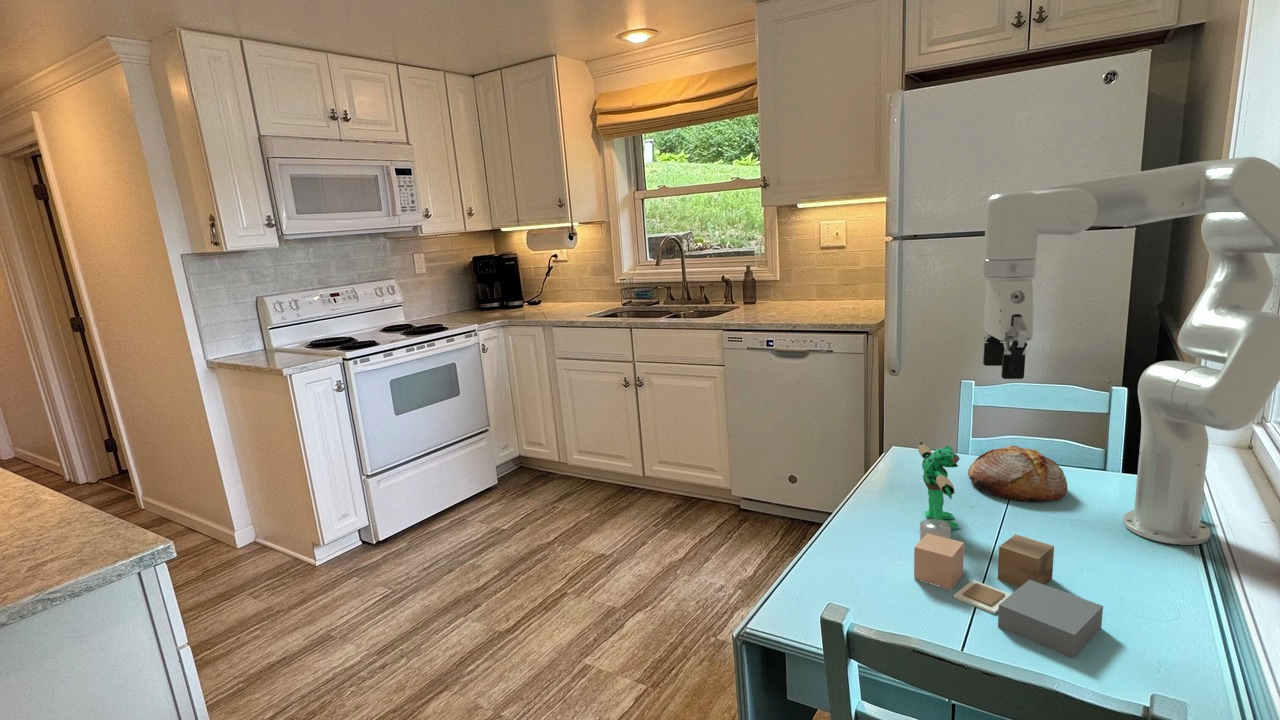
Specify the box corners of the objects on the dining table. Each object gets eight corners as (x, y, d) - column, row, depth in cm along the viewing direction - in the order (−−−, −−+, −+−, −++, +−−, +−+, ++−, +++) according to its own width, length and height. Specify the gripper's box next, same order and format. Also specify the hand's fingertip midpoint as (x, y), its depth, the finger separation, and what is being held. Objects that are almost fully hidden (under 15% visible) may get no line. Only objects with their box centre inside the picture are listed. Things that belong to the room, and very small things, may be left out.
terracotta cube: (926, 564, 117) (927, 533, 116) (962, 574, 113) (963, 542, 112) (914, 579, 113) (914, 547, 112) (951, 590, 109) (952, 557, 108)
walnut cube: (1014, 566, 115) (1015, 534, 114) (1052, 579, 110) (1054, 546, 109) (997, 579, 111) (999, 546, 110) (1036, 593, 107) (1038, 559, 105)
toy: (976, 554, 119) (979, 476, 116) (937, 553, 121) (939, 475, 118) (942, 495, 144) (943, 429, 141) (910, 494, 145) (911, 429, 142)
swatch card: (973, 582, 111) (973, 578, 111) (1014, 597, 106) (1014, 593, 106) (953, 597, 107) (953, 593, 107) (994, 614, 102) (994, 610, 102)
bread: (1055, 517, 133) (1057, 471, 131) (954, 492, 147) (954, 450, 145) (1079, 486, 144) (1081, 443, 141) (982, 466, 158) (983, 426, 155)
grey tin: (928, 546, 123) (929, 516, 122) (955, 555, 119) (956, 524, 118) (914, 556, 120) (914, 525, 119) (940, 566, 117) (941, 534, 115)
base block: (1028, 602, 105) (1029, 579, 104) (1101, 630, 97) (1103, 605, 96) (997, 628, 99) (998, 604, 98) (1072, 661, 91) (1074, 635, 90)
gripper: (1055, 273, 100) (1047, 384, 104) (1015, 265, 117) (1009, 360, 120) (1001, 275, 102) (994, 384, 105) (969, 266, 118) (964, 361, 122)
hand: (1002, 371), depth 113 cm, fingers open, 9 cm apart
